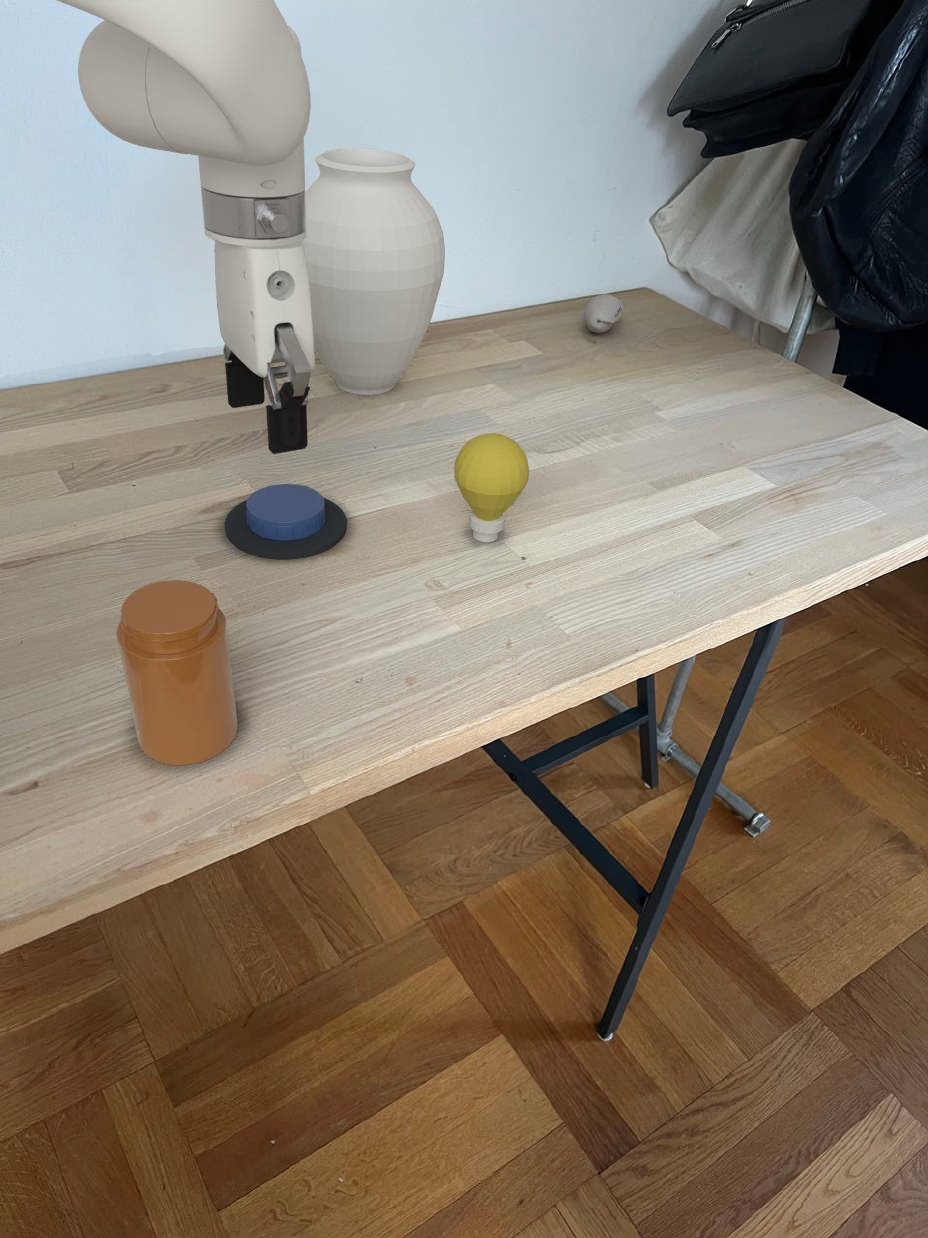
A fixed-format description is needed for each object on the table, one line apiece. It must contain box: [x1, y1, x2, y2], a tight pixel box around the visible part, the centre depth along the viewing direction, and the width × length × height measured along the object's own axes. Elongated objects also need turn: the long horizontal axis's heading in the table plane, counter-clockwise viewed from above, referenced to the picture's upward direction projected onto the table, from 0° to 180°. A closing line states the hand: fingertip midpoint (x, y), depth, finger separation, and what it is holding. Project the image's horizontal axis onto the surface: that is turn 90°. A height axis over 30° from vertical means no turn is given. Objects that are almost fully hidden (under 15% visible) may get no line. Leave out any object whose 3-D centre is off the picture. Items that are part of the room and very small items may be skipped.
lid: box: [246, 483, 325, 541], centre depth 84 cm, size 7×7×2 cm
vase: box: [301, 147, 446, 396], centre depth 105 cm, size 18×18×25 cm
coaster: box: [224, 497, 348, 560], centre depth 85 cm, size 11×11×1 cm
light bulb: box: [453, 432, 530, 543], centre depth 83 cm, size 7×7×10 cm
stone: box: [583, 293, 625, 334], centre depth 131 cm, size 10×5×5 cm, turn 165°
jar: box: [116, 579, 239, 766], centre depth 60 cm, size 7×7×11 cm
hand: (266, 426), depth 79 cm, fingers open, 9 cm apart
